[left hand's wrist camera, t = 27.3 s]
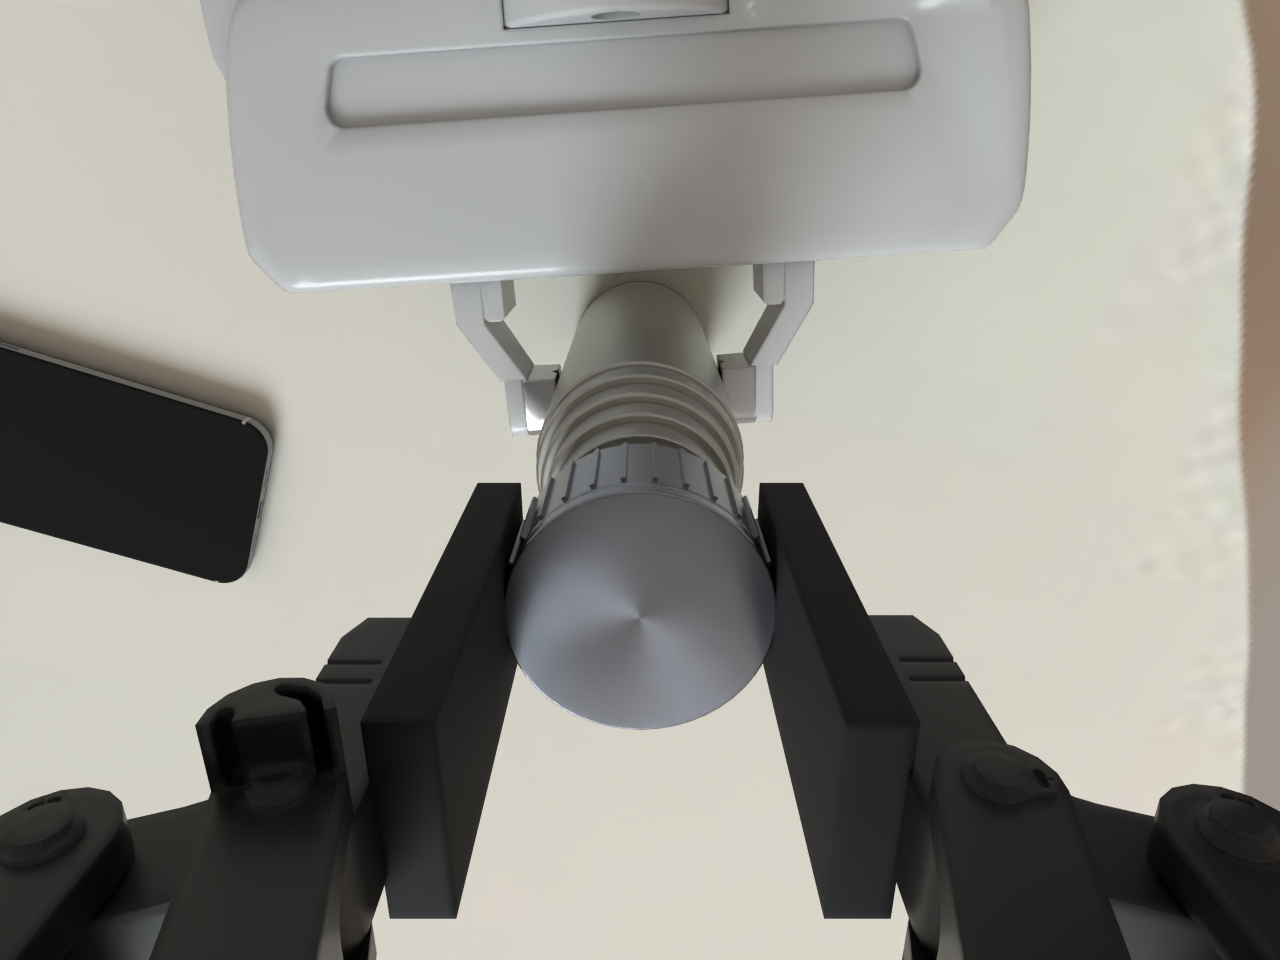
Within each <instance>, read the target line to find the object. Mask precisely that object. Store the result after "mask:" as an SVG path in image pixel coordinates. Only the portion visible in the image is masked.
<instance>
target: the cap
mask: <svg viewBox="0 0 1280 960" xmlns="http://www.w3.org/2000/svg"><path fill="white" fill-rule="evenodd" d="M771 565H772V562H771V559H770V556H769V553H768V549H767V546H766V543H765V540H764V537H763V534H762V531H761V528H760V525H759V522H758V519H754V516H753V513H752V510H751V507H750V503H749V500H748V498H747V496H744V497H743V496H742V495H741V493H740V492H739V490H738V489H737V488H736V487H735V486H734V485H733V481H732V478H731V477H730V476H729V475H728V476H727V477H726V476H725V475H723V474H722V473H721V472H720V471H719V470H717V469H716V468H715V467H713V466H712V465H711V463H710V461H709V460H707V459H706V460H705V461H704V460H702V459H700V458H698V457H696V456H694V455H692V454H690V453H687V452H685V449H683V448H680V449H679V450H678V449H675V448H671V447H666V446H662V445H657V443H656V442H652V443H651V444H629V445H628V443H627V442H624V443H623V444H622V445H620V446H615V447H610V448H605V449H602V450H600V449H599V448H597V449H595V450H594V452H593V453H591V454H589V455H586V456H584V457H582V458H580V459H578V460H576V461H574V460H571V461H570V462H569V465H568V466H567V467H565V468H564V469H563V470H562V471H560V472H559V473H558V474H557V475H556V476H554V477H552V476H550V477H549V478H548V480H547V484H546V486H545V487H544V488H543V489H542V491H541V492H540V494H539V495H538V497H537V498H536V497H533V498H532V500H531V503H530V507H529V510H528V513H527V516H526V519H525V520H522V522H521V525H520V529H519V532H518V535H517V538H516V541H515V544H514V547H513V550H512V553H511V557H510V560H509V563H508V566H509V567H511V570H510V573H509V577H508V580H507V583H506V586H505V593H504V600H505V616H506V630H507V639H508V643H509V646H510V649H511V651H512V653H513V655H514V657H515V659H516V662H517V663H518V665H519V666H520V668H521V669H522V671H523V673H524V674H525V676H526V677H527V678H528V679H529V680H530V681H531V683H532V684H533V685H534V686H535V687H536V688H537V689H538V690H539V691H540V692H541V693H542V694H543V695H545V696H546V697H547V698H548V699H549V700H551V701H552V702H554V703H555V704H556V705H558V706H559V707H561V708H562V709H564V710H566V711H568V712H570V713H572V714H574V715H576V716H578V717H580V718H583V719H586V720H588V721H591V722H594V723H598V724H601V725H605V726H610V727H616V728H622V729H638V730H643V729H658V728H664V727H671V726H676V725H679V724H683V723H686V722H690V721H692V720H695V719H697V718H700V717H702V716H705V715H707V714H709V713H710V712H712V711H714V710H716V709H718V708H720V707H721V706H722V705H724V704H725V703H727V702H728V701H730V700H731V699H732V698H734V697H735V696H736V695H737V694H738V693H739V692H740V691H741V690H742V689H743V688H745V686H746V685H747V684H748V683H749V682H750V681H751V679H752V678H753V677H754V676H755V675H756V673H757V671H758V670H759V668H760V667H761V665H762V664H763V662H764V660H765V658H766V656H767V654H768V651H769V649H770V647H771V644H772V640H773V636H774V623H775V608H776V591H775V585H774V582H773V579H772V576H771V572H770V569H769V566H771Z"/></svg>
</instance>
